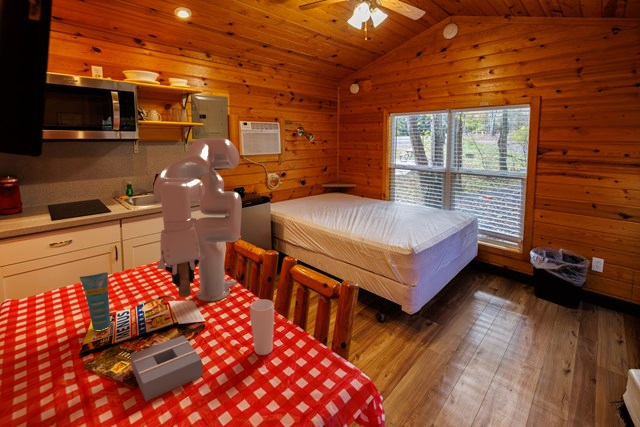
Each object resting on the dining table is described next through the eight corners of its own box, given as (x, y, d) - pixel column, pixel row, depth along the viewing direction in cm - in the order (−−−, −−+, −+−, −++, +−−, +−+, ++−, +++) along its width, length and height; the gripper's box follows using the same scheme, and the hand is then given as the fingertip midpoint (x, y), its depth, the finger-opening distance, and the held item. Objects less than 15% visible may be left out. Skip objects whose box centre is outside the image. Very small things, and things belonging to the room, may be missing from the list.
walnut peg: (188, 290, 105) (185, 254, 102) (193, 294, 102) (189, 257, 99) (177, 293, 103) (173, 256, 100) (181, 298, 100) (177, 260, 97)
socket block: (184, 350, 100) (183, 334, 99) (202, 375, 90) (201, 358, 89) (132, 370, 92) (130, 353, 90) (145, 401, 81) (143, 382, 80)
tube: (88, 335, 108) (79, 279, 103) (89, 328, 111) (79, 274, 107) (116, 328, 112) (107, 274, 107) (115, 321, 115) (107, 269, 111)
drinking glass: (278, 346, 102) (277, 301, 99) (268, 359, 96) (266, 312, 93) (259, 341, 105) (257, 297, 101) (247, 354, 98) (245, 308, 95)
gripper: (201, 217, 105) (205, 272, 110) (143, 227, 95) (151, 286, 99) (211, 222, 100) (215, 280, 104) (150, 233, 89) (158, 296, 94)
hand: (183, 282), depth 102 cm, fingers closed on walnut peg, 3 cm apart
